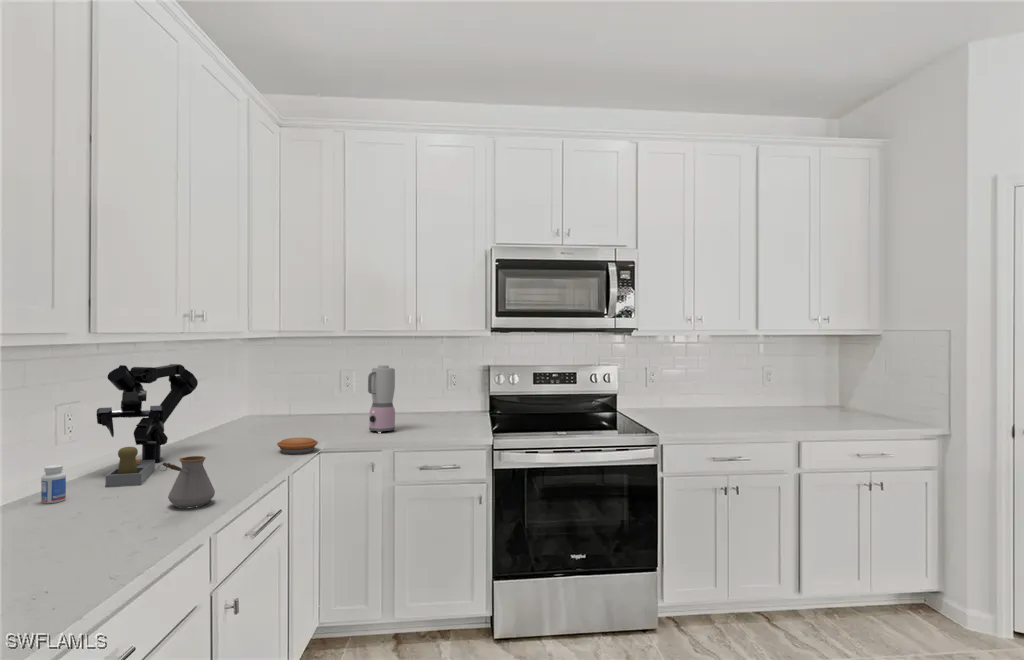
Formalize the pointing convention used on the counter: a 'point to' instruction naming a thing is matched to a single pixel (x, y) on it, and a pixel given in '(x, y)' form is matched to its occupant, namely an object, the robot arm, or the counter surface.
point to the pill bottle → (53, 484)
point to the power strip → (134, 478)
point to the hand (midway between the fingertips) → (129, 435)
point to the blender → (382, 398)
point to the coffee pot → (190, 483)
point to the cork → (127, 460)
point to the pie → (297, 445)
